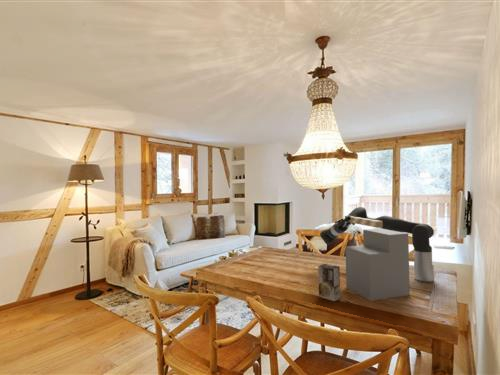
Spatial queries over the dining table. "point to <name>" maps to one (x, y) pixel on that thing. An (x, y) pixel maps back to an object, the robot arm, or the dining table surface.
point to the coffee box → (329, 282)
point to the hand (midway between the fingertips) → (352, 217)
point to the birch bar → (366, 222)
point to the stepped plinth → (379, 265)
